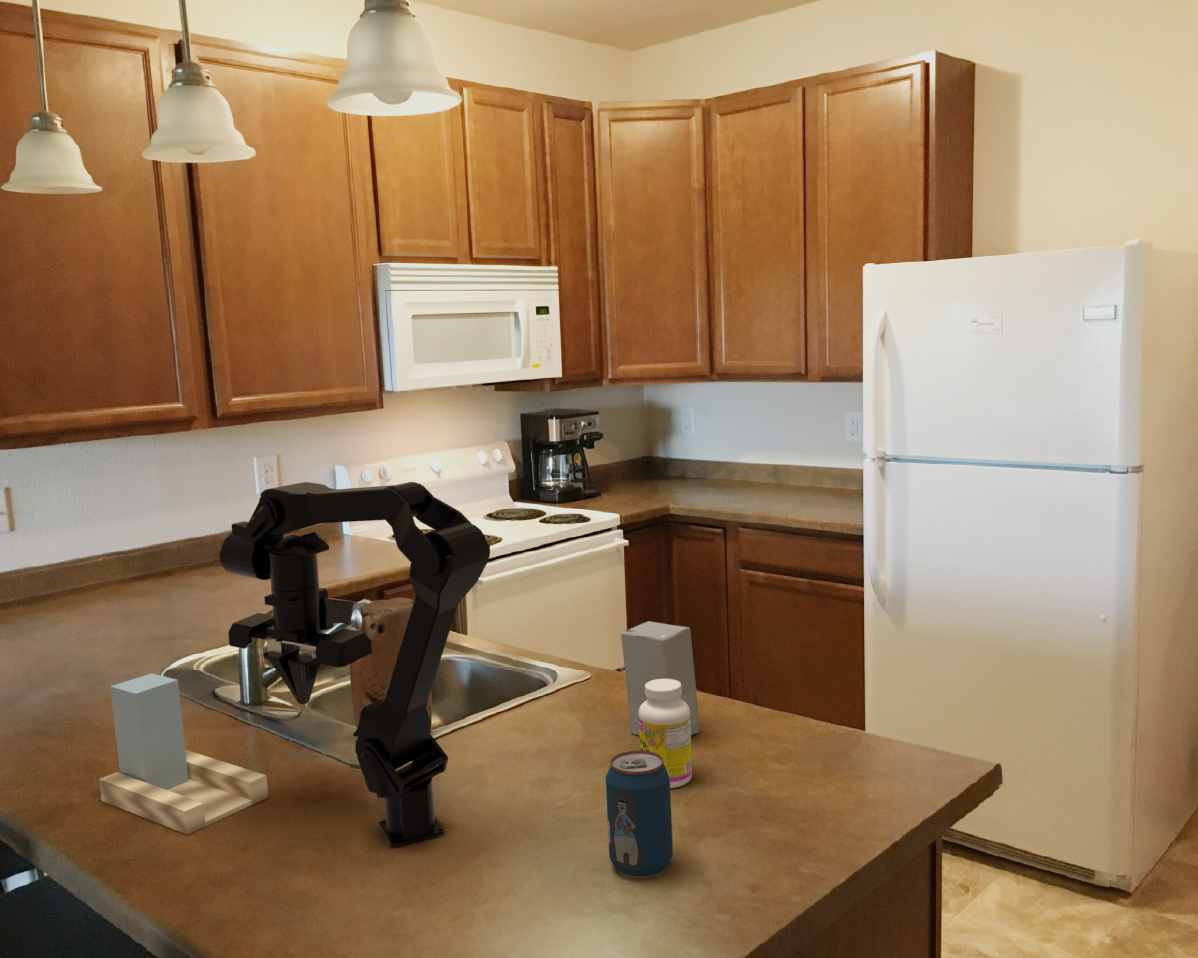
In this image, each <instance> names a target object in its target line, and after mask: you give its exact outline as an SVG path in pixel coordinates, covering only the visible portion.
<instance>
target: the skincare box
mask: <svg viewBox="0 0 1198 958" xmlns="http://www.w3.org/2000/svg"><path fill="white" fill-rule="evenodd" d="M691 633H692V632H691V628H690V627H688V626H683V625H674V624H668V623H663V622H655V621H650V620H647V621H646V622H643V623H640V624H639V625H636V626H634V627H632V628H629V629H627V630H625V631H624V630H623V631H621V632H620V636H621V637H620V638H621V644H622V645H621V647H622V654H623V656H622V657H623V663H624V664H623V665H624V674H625V685H626V693H627V703H628V704H627V707H628V714H629V724H630V726H629V727H630V733H631V734H632V735H635V736H639V708H640V706H641V705H642V703H644V702H645V701H646V700H647V697H646V695H645V684H646V683H647V682H649V681H652V680H656V679H673V680H677V681H679V682H680V683H681V688H682V693H681V696H680V699H681V700H683V701H684V702H686V703H687V705H688V706H689V709H690V731H691V736H692V735H695V734H698V733H699V732H700V729H701V725H700V715H699V706H698V705H699V704H698V695H697V694H698V693H697V685H696V675H695V674H696V673H695V663H694V653H693V644H692V642H693V641H692V634H691Z"/></svg>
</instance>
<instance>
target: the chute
mask: <svg viewBox="0 0 1198 958" xmlns="http://www.w3.org/2000/svg"><path fill="white" fill-rule="evenodd" d="M185 752H186V761H187V771H188V780H187V781H185V782H182V783H180V784H178V785H175V786H173V787H171V788H168V789H166V790H165V789H162V788H160V787H157V786H154V785H151V784H149V783H146V782H143V781H140V780H137V779H135V778H132V777H129V776H126V775H123V774H121V773H120V772H118V771H117V772H114V773H112V774H109V775H106V776H104V777H101V778H99V779H98V780H99V788H100V790H99V791H100V799H101V802H103V803H106V804H109V805H111V806H113V807H116V808H118V809H121V810H125V811H127V812H128V813H132V814H134V815H137V816H139V817H141V818H144V819H147V820H149V821H152V822H154V823H157V824H159V825H162V826H165V827H167V828H170V829H172V830H175V831H178V832H180V833H182V834H185V835H191V834H192V833H195V832H197V831H199V830H201V829H203V828H205V827H207V826H210V825H212V824H214V823H216V822H218V821H221V820H223V819H225V818H227V817H229V816H231V815H234V814H235V813H237V812H240V811H242V810H244V809H246V808H248V807H250V806H252V805H255V804H257V803H259V802H262V801H263V800H266V799H267V798H269V790H268V789H269V788H268V780H267V779H268V778H267V775H266V774H264V773H260V772H258V771H255V770H251V769H248V768H244V767H241V766H238V765H235V764H232V763H229V762H225V761H222V760H219V759H216V758H213V757H210V756H206V755H204V754H201V753H197V752H194V751H191V750H187V749H185Z"/></svg>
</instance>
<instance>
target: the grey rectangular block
mask: <svg viewBox="0 0 1198 958" xmlns="http://www.w3.org/2000/svg"><path fill="white" fill-rule="evenodd" d="M109 687H110V689H109V690H110V697H111V705H112V706H111V707H112V712H113V714H112V715H113V724H114V732H115V740H116V747H117V750H116V751H117V756H118V759H117V760H118V765H119V767H118V768H119V773H121V774H123V775H126V776H129V777H132V778H135V779H137V780H140V781H143V782H146V783H149V784H151V785H154V786H157V787H160V788H162V789H165V790H166V789H168V788H171V787H173V786H175V785H178V784H180V783H182V782H185V781H187V780H188V771H187V761H186V752H185V750H186V744H185V734H184V726H183V725H184V724H183V716H182V706H181V699H180V697H181V696H180V687H179V680H178V679H176V678H171V677H167V676H164V675H161V674H156V673H148V674H145V675H143V676H139V677H136V678H132V679H130V680H126V681H123V682H119V683H117V684H114V685H110V686H109Z"/></svg>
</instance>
